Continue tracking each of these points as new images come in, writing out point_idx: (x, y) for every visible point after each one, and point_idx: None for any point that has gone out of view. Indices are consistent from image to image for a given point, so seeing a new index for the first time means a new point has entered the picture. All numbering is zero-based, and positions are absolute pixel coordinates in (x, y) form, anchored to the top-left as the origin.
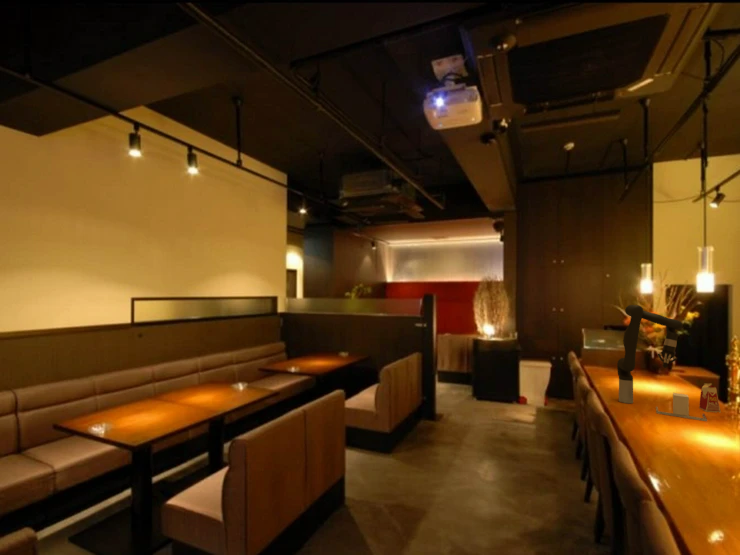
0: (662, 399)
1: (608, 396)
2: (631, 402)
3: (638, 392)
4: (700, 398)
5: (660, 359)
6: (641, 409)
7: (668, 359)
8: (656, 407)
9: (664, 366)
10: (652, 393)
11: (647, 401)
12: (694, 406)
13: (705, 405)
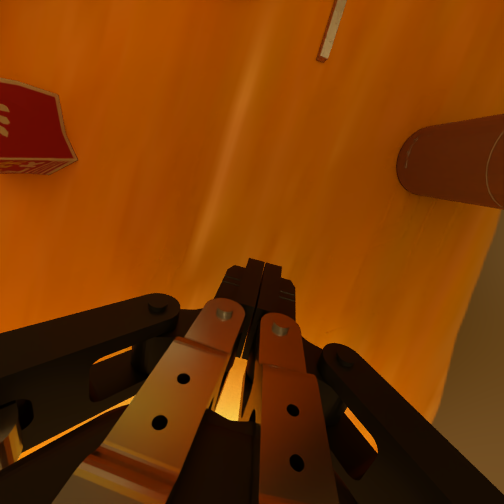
0: (218, 286)
1: (466, 244)
2: (419, 131)
3: None
4: (34, 155)
5: (352, 423)
6: (416, 5)
7: (201, 354)
8: (334, 30)
9: (273, 269)
10: (229, 382)
11: (310, 214)
12: (93, 198)
13: (35, 100)
